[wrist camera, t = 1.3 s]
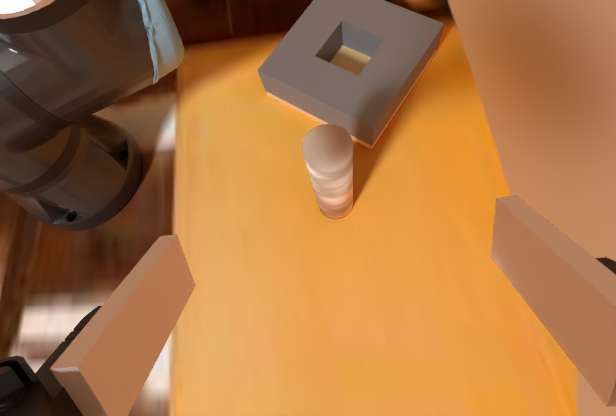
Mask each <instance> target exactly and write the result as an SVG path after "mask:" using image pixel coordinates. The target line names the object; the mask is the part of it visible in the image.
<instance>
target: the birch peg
mask: <svg viewBox="0 0 616 416" xmlns="http://www.w3.org/2000/svg"><path fill="white" fill-rule="evenodd" d="M302 150H303V154H304V158H305V161H306V164H307V168H308V171H309V174H310V178H311V181H312V184H313V188H314V191H315V194H316V198H317V201H318V204H319V208H320V210H321V212H322V213H323V214H324V215H325V216H326V217H328V218H331V219H341V218H343V217H345V216H347V215H348V214H349V213H350V211H351V209H352V207H353V141H352V138H351V136H350V134H349V133H348V132H347V131H346V130H345V129H344V128H342V127H341V126H338V125H335V124H323V125H319V126H317V127H315V128H313V129H312V130H311V131H310V132H309V133H308V134H307V135H306V137H305V139H304V141H303V146H302Z"/></svg>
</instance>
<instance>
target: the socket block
mask: <svg viewBox="0 0 616 416" xmlns="http://www.w3.org/2000/svg"><path fill="white" fill-rule="evenodd" d="M443 27H444V23H442V22H439V21H437V20H434V19H431V18H429V17H426V16H424V15H421V14H418V13H416V12H413V11H410V10H408V9H405V8H403V7H400V6H397V5H395V4H392V3H390V2H387V1H384V0H313V1H312V3H311V4H310V5H309V6H308V8H307V9H306V10H305V11H304V13H303V14H302V15H301V16H300V18H299V19H298V20H297V21H296V23H295V24H294V25H293V27H292V28H291V29H290V30H289V32H288V33H287V34H286V35H285V37H284V38H283V39H282V40H281V42H280V43H279V44H278V45H277V47H276V48H275V49H274V50H273V52H272V53H271V54H270V55H269V57H268V58H267V59H266V60H265V62H264V63H263V64H262V66H261V67H260V68H259V69H258V72H259V75H260V77H261V80H262V83H263V85H264V88H265V91H266V93H267V96H269V97H271V98H273V99H275V100H277V101H279V102H281V103H282V104H284V105H286V106H288V107H290V108H292V109H294V110H296V111H298V112H300V113H302V114H304V115H305V116H307V117H309V118H311V119H313V120H315V121H317V122H319V123H321V124H335V125H338V126H341V127H342V128H344V129H345V130H346V131H347V132H348V133H349V134H350V136H351V138H352V140H353V141H355V142H357V143H359V144H361V145H363V146H365V147H367V148H369V149H371V150H372V148H373V147H374V145H375V144H376V142H377V141H378V139H379V138H380V136H381V135H382V133H383V132H384V130H385V129H386V127H387V126H388V124H389V123H390V121H391V120H392V118H393V117H394V115H395V114H396V112H397V111H398V109H399V108H400V106H401V105H402V103H403V102H404V100H405V99H406V97H407V96H408V94H409V93H410V91H411V90H412V88H413V87H414V85H415V84H416V82H417V81H418V79H419V78H420V76H421V75H422V73H423V72H424V70H425V69H426V67H427V66H428V64H429V63H430V61H431V60H432V58H433V57H434V55H435V53H436V50H437V46H438V43H439V40H440V37H441V34H442V30H443Z"/></svg>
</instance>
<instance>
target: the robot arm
mask: <svg viewBox="0 0 616 416" xmlns="http://www.w3.org/2000/svg"><path fill="white" fill-rule="evenodd" d="M183 58H184V47H183V43H182V40H181V38H180V35H179V32H178V30H177V28H176V25H175V23H174V20H173V18H172V16H171V14H170V11H169V9H168V7H167V5H166V3H165V0H0V191H1V192H4V193H6V194H7V195H8V196H10V197H11V198H12V199H13V200H14V201H16V202H17V203H18V204H19V205H20V206H22V207H23V208H24V209H25V210H26V211H28V212H29V213H30V214H31V215H33V216H34V217H35V218H36V219H38V220H40V221H42V222H44V223H46V224H48V225H52V226H55V227H58V228H61V229H65V230H84V229H89V228H92V227H95V226H98V225H100V224H102V223H104V222H106V221H107V220H109V219H110V218H112V217H113V216H114V215H116V214H117V213H118V212H119V211H120V210H121V209H122V208H123V207H124V206H125V205H126V204H127V202H128V201H129V200H130V198H131V197H132V195H133V193H134V192H135V190H136V188H137V185H138V183H139V180H140V176H141V170H142V158H141V153H140V150H139V147H138V145H137V143H136V142H135V140H134V139H133V138H132V137H131V136H130V135H129V134H128V133H127V132H126V131H124V130H123V129H122V128H121V127H120V126H118V125H117V124H115V123H113V122H111V121H109V120H107V119H104V118H101V117H98V116H95V115H92V114H93V113H95V112H97V111H99V110H101V109H103V108H105V107H107V106H109V105H111V104H113V103H115V102H117V101H119V100H121V99H123V98H125V97H127V96H129V95H131V94H133V93H135V92H137V91H139V90H141V89H143V88H145V87H147V86H149V85H151V84H155V83H156V82H158V80H159V79H160V78H161V77H163V76H164V75H166V74H168V73H169V72H171V71H173V70H174V69H176V68H177V67H179V65H180V64H181V62H182V61H183ZM491 258H492V259H493V260H494V262H495V263H496V264H497V266H498V267H499V268H500V269H501V271H502V272H503V273H504V275H505V276H506V277H507V278H508V280H509V281H510V282H511V284H512V285H513V286H514V287H515V289H516V290H517V291H518V293H519V294H520V295H521V297H522V298H523V299H524V300H525V302H526V303H527V304H528V306H529V307H530V308H531V309H532V311H533V312H534V313H535V315H536V316H537V317H538V318H539V320H540V321H541V322H542V324H543V325H544V326H545V327H546V329H547V330H548V331H549V333H550V334H551V335H552V336H553V338H554V339H555V340H556V342H557V343H558V344H559V345H560V347H561V348H562V349H563V351H564V352H565V353H566V354H567V356H568V357H569V358H570V360H571V361H572V362H573V363H574V365H575V366H576V367H577V369H578V370H579V371H580V373H581V374H582V375H583V376H584V378H585V379H586V380H587V381H588V383H589V384H590V385H591V387H592V388H593V389H594V391H595V392H596V393H597V394H598V396H599V397H600V398H601V400H602V401H603V402H604V403H605V405H606V406H616V262H615V261H613V260H611V259H609V258H594V257H593V256H592V255H590V254H589V253H588V252H586V251H585V250H584V249H583V248H582V247H580V246H579V245H578V244H576V243H575V242H574V241H573V240H571V239H570V238H569V237H568V236H567V235H565V234H564V233H563V232H562V231H560V230H559V229H558V228H556V227H555V226H554V225H553V224H551V223H550V222H549V221H548V220H547V219H545V218H544V217H543V216H542V215H540V214H539V213H538V212H537V211H535V210H534V209H533V208H531V207H530V206H529V205H528V204H526V203H525V202H524V201H523V200H521V199H520V198H519V197H518V196H512V197H503V198H496V208H495V218H494V228H493V239H492V249H491ZM194 287H195V283H194V280H193V277H192V275H191V272H190V269H189V266H188V264H187V261H186V258H185V255H184V253H183V250H182V247H181V244H180V241H179V239H178V236H177V235H168V236H160V237H159V238H158V239H157V241H156V242H155V243H154V244H153V245H152V247H151V248H150V249H149V250H148V251H147V253H146V254H145V255H144V256H143V257H142V259H141V260H140V261H139V262H138V263H137V265H136V266H135V267H134V268H133V269H132V271H131V272H130V273H129V274H128V275H127V277H126V278H125V279H124V280H123V281H122V283H121V284H120V285H119V286H118V287H117V289H116V290H115V291H114V292H113V293H112V295H111V296H110V297H109V298H108V299H107V301H106V302H105V303H104V304H103V305H102V306H98V307H97V308H95V309H94V310H93V311H91V312H90V313H89V314H87V315H86V316H85V317H84V318H83V319H82V320H81V321H80V322H79V323H78V325H77V326H76V327H75V328H74V331H73V332H71V333H70V334H69V335H68V336H67V337H66V339H65V342H62V343H61V344H60V345H59V347H58V348H57V349H56V350H55V351H54V352H53V354H52V355H51V356H50V357H49V358H48V359H47V360H46V362H45V363H44V364H43V365H42V366H41V367H40V369H39V370H38V371H37V372H36V373H34V372H33V370H32V369H31V367H30V366H29V365H28V363H27V362H26V360H25V359H24V358H23V357H20V356H13V357H7V358H5V359H2V360H0V416H128V414H129V412H130V410H131V408H132V406H133V404H134V403H135V401H136V399H137V397H138V395H139V393H140V391H141V389H142V387H143V385H144V383H145V381H146V380H147V378H148V376H149V374H150V372H151V370H152V368H153V366H154V364H155V362H156V360H157V358H158V357H159V355H160V353H161V351H162V349H163V347H164V345H165V343H166V341H167V339H168V337H169V335H170V333H171V332H172V330H173V328H174V326H175V324H176V322H177V320H178V318H179V316H180V314H181V312H182V310H183V309H184V307H185V305H186V303H187V301H188V299H189V297H190V295H191V293H192V291H193V289H194Z"/></svg>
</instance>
